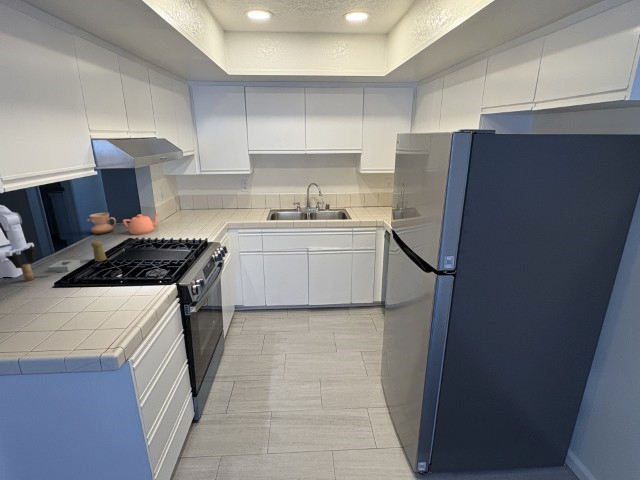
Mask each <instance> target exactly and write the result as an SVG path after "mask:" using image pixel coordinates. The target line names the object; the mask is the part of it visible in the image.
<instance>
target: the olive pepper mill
mask: <svg viewBox="0 0 640 480" xmlns="http://www.w3.org/2000/svg"><path fill="white" fill-rule="evenodd" d="M91 247H92V248H93V258H94V259H93V261H94V260H95V261H94V262H96V261H98V262H103V261H106V260H107V259H108V258H107V255H106V253H105V251H104V248H103V242H102V241H100V240H95V241H92V242H91Z"/></svg>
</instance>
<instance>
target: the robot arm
mask: <svg viewBox="0 0 640 480" xmlns="http://www.w3.org/2000/svg"><path fill="white" fill-rule="evenodd" d="M22 224H23V219H22V217H21V215H20V214H19V212H13V211H11V210H10V209H9V208H8V207H6V206H5V205H3V204H2V205H1V204H0V225H1V226H2V228H1V227H0V279H4V278H3V277H6V276H8V277H12V278H11V279H13V278H14V279H15V278H17V277H20V276H22V275H23V272H22V269H21V268H22V265H23V264H22V261H21V259H22V258H21V257H22V255H21V252H22V253H23V254H24V256H25V258H26V261H27V262H28V264H30V263H34V262H35V258H34V257H35V253H36V249H37V248H36V247H35V244H34V242H28V243H27V241H26V238H25V235H24V231H23V228H22V226H21V225H22ZM2 229H3V230H4V231H5V232H6V236H7V237H6V236H5V234H4V232H3V230H2Z"/></svg>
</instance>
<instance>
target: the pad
mask: <svg viewBox="0 0 640 480" xmlns="http://www.w3.org/2000/svg"><path fill="white" fill-rule="evenodd" d="M56 273H58V272H49V271H48V270H43V271H41V272H39V273H37V274H35V275H34V279H36V278H49V277H50V276H53V275H55V274H56Z"/></svg>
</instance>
